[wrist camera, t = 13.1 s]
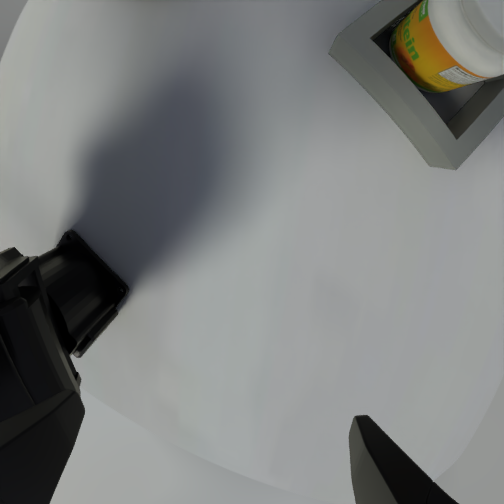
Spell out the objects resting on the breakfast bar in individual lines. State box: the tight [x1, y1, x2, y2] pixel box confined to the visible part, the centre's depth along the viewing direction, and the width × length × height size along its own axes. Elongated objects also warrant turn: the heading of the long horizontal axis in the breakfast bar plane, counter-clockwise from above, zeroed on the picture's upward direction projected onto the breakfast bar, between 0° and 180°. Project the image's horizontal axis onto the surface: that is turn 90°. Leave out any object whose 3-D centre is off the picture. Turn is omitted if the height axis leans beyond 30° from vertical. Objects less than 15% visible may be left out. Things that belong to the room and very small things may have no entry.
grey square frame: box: [329, 0, 504, 170], centre depth 14 cm, size 10×10×4 cm
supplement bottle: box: [389, 0, 504, 93], centre depth 11 cm, size 5×5×10 cm
